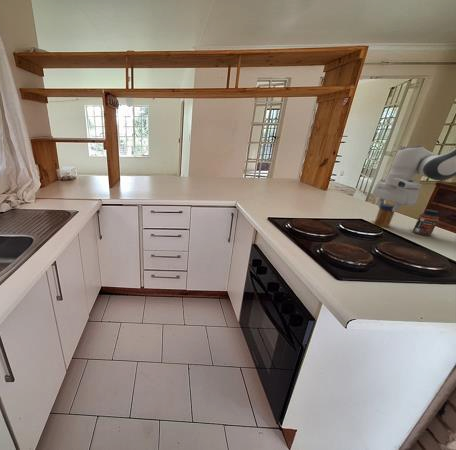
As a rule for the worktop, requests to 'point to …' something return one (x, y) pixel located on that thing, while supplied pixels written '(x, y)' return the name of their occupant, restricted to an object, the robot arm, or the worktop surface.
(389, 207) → the jar lid
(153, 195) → the worktop surface
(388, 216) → the jam jar
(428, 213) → the supplement bottle
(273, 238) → the worktop surface
